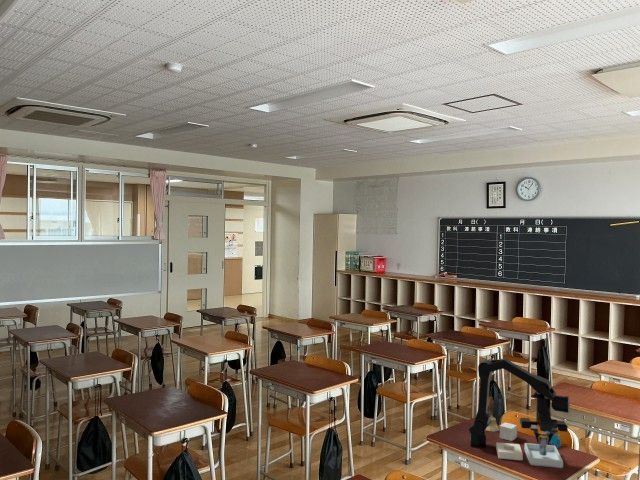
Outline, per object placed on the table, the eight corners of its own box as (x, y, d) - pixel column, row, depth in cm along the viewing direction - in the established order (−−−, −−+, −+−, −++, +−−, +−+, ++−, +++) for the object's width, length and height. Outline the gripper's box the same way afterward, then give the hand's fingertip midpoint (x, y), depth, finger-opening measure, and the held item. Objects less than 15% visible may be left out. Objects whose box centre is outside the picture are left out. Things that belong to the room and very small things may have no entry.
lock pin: (538, 455, 228) (538, 435, 227) (536, 451, 232) (536, 431, 232) (549, 456, 227) (549, 436, 226) (547, 452, 231) (547, 432, 231)
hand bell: (479, 429, 263) (480, 397, 263) (486, 424, 270) (486, 393, 269) (496, 433, 258) (496, 401, 258) (502, 428, 264) (502, 396, 264)
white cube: (511, 441, 248) (511, 428, 248) (499, 438, 252) (499, 425, 252) (516, 437, 253) (516, 425, 253) (504, 434, 257) (504, 422, 257)
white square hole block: (498, 458, 230) (498, 451, 230) (496, 448, 239) (496, 442, 239) (522, 460, 227) (522, 453, 227) (519, 450, 237) (519, 444, 237)
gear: (551, 447, 237) (540, 426, 244) (542, 453, 241) (531, 432, 247) (567, 446, 242) (556, 425, 249) (558, 451, 246) (547, 431, 252)
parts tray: (530, 465, 223) (530, 458, 223) (524, 449, 239) (524, 443, 238) (563, 468, 220) (563, 461, 220) (555, 452, 236) (555, 445, 236)
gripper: (523, 413, 223) (523, 449, 223) (570, 416, 219) (570, 453, 219) (519, 404, 234) (519, 439, 234) (564, 407, 230) (564, 443, 230)
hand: (543, 443), depth 229 cm, fingers closed on lock pin, 4 cm apart
